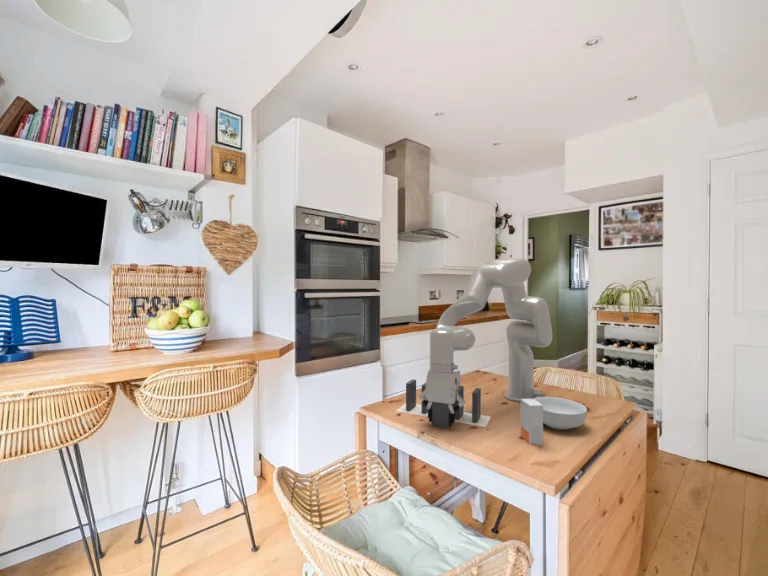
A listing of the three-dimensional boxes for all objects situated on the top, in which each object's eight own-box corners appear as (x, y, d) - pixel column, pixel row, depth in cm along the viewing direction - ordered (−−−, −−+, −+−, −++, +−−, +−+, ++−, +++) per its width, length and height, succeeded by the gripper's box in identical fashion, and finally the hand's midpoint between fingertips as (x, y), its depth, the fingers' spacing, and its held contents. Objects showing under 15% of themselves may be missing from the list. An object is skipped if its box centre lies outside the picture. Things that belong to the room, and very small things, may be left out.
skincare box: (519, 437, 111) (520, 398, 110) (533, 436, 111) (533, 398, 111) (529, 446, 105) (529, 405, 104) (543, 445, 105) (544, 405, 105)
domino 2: (431, 408, 133) (431, 381, 133) (425, 414, 128) (425, 386, 128) (427, 407, 134) (427, 381, 134) (421, 413, 129) (421, 385, 128)
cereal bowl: (567, 440, 108) (567, 417, 108) (520, 422, 122) (520, 401, 122) (597, 428, 117) (597, 407, 117) (550, 412, 131) (550, 393, 131)
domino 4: (463, 414, 128) (463, 386, 128) (459, 419, 123) (459, 390, 122) (458, 413, 129) (459, 385, 128) (454, 419, 123) (454, 390, 123)
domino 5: (480, 417, 125) (480, 388, 125) (476, 423, 120) (477, 393, 120) (475, 416, 126) (476, 387, 126) (472, 422, 121) (472, 392, 120)
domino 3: (433, 425, 119) (433, 395, 119) (450, 429, 116) (451, 398, 116) (431, 427, 118) (431, 397, 117) (449, 431, 115) (449, 400, 115)
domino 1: (416, 406, 136) (416, 379, 136) (410, 411, 131) (410, 383, 130) (412, 405, 137) (412, 379, 136) (406, 410, 131) (406, 383, 131)
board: (491, 418, 126) (491, 416, 126) (485, 428, 117) (485, 427, 117) (406, 404, 140) (406, 402, 140) (395, 412, 131) (395, 410, 131)
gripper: (470, 367, 116) (470, 423, 117) (420, 362, 124) (420, 414, 124) (465, 373, 109) (464, 431, 110) (412, 366, 117) (412, 421, 117)
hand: (441, 421), depth 117 cm, fingers closed on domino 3, 5 cm apart
